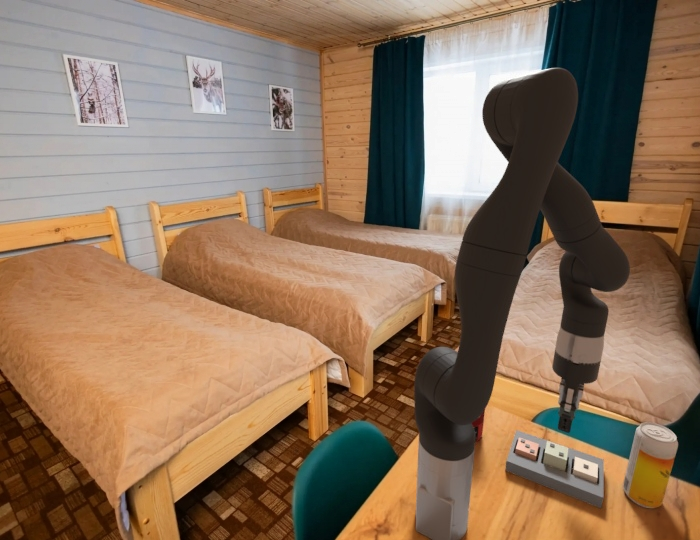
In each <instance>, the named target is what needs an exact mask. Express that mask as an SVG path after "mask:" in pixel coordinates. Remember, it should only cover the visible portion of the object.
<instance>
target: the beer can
mask: <svg viewBox="0 0 700 540" xmlns="http://www.w3.org/2000/svg"><path fill="white" fill-rule="evenodd" d="M677 438H678V437H677V435H676V434H675V433H674V432H673V431H672V429H669V427H667V426H664V425H662V424H658V423H656V422H651V421H645V422H644V421H643V422H641V423H640V424H639V426H638V427H636V429H635V433H634V437H633V440H632V441H633V442H632V446H631V450H630V453H629V458H628V462H627V467H626V472H625V476H624V479H623V484H622V488H623V491H624V492H625V494H626V496H627V498H629V499H630V500H631V501H632V502H633V503H635V504H636V505H638V506H640V507H642V508H645V509H655V508H659V507H661V506H662V504H663V502H664V500H665V499H664V498H665V495H666V491H667V488H668V483H669V480H670V476H671V474H672V473H671V472H672V469H673V466H674V462H675V458H676V454H677V452H678V448H679V442H678V439H677Z"/></svg>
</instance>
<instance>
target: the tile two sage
mask: <svg viewBox="0 0 700 540" xmlns="http://www.w3.org/2000/svg"><path fill="white" fill-rule="evenodd" d="M549 441H550V440H548V441H547V444H546V449H545V454H544V458H543V459H542V464H545V465H548V466H550V467H553V468H556V469H559V470H561V471H564V472H566V469H567V467H566V463H567V456H568V448H569V447H568V446H565V445H562V444H559V443H556V442H553V441H551V442H549ZM552 442H553V443H552ZM555 443H556V444H555ZM558 444H559V445H558ZM561 445H562V446H561ZM564 446H565V447H564ZM567 447H568V448H567Z"/></svg>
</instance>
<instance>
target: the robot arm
mask: <svg viewBox="0 0 700 540" xmlns="http://www.w3.org/2000/svg"><path fill="white" fill-rule="evenodd" d="M578 103H579V91H578V84H577V81H576V79H575V77H574V75H573V74H572V73H571V71H569V70H567V69H565V68H562V67H551V68H546V69H542V70H538V71H533V72H529V73H525V74H522V75H519V76H515V77H511V78H508V79H506V80H504V81H501V82H498V83H497V84H495V85H494V86H493V87H492V88H491V89H490V90H489V92H488V93H487V95H486V96H485V99H484V102H483V104H482V105H483V106H482V113H481V114H482V116H481V117H482V123H483V126H484V129H485V131H486V133H487V135H488V137H489V138H490V140H491V141H492V142H493V144H494V145H495V147H496V148H497V149H498V151H499V152H500V154H501V155H502V156H503V157H504V159H505V160H506V161H507V162H508V163H507V166H506V168H505V170H504V172H503V175H502V177H501V179H500V180H499V182H498V183H497V185H496V187H495V188H494V189H493V190H492V192H491V193H490V194H489V196H488V197H487V198H486V200H485V201H484V202H483V203H482V204H481V205H480V207H479V208H478V209H477V211H476V212H475V213H474V215H473V216H472V218H471V219H470V221H469V222H468V224H467V226H466V227H465V231H464V234H463V236H462V239H461V240H462V241H461V243H460V245H459V246H460V247H459V250H458V255H457V259H456V263H455V268H454V286H455V293H456V300H457V305H458V310H459V311H458V312H459V317H460V338H459V339H460V340H459V344H458V345H459V346H458V350H454V349H453V348H451V347H447V346H438V347H434V348H432V349H430V350H428V351H427V352H426V353H425V354H424V355H423V356H422V358H420V359H421V360H420V361H419V363H418V365H417V367H416V371H415V376H414V384H413V385H414V393H413V394H414V420H415V425H416V428H417V429H418V447H417V448H418V449H417V473H416V474H417V475H416V492H415V493H416V496H415V497H416V499H415V531H416V532H417V533H419V534H421V535H423V536H425V537H426V538H429V539H431V540H461V539H462V538H464V536H465V535H466V533H467V530H468V524H469V523H468V522H469V521H468V520H469V514H470V513H469V511H470V501H471V492H472V491H471V490H472V482H473V480H472V478H473V471H474V470H473V469H474V460H475V450H476V449H475V448H476V442H475V438H476V436H475V430H474V427H473V425H472V422H474V421H475V420H476V419H478V418H479V417H480V415H481V414H482V413H483V412H484V410H485V411H486V409H487V406H488V405H489V402H490V400H491V397H492V394H493V390H494V386H495V380H496V375H497V369H498V365H499V364H498V363H499V358H500V354H501V350H502V349H501V348H502V345H503V343H502V342H503V339H504V338H503V337H504V333H505V329H506V326H507V322H508V317H509V313H510V310H511V307H512V303H513V301H514V296H515V293H516V290H517V287H518V284H519V281H520V278H521V275H522V273H523V269H524V266H525V262H526V260H527V259H526V258H527V255H528V252H529V248H530V243H531V241H532V240H531V239H532V236H533V233H534V230H535V226H536V223H537V219H538V216H539V213H540V211H541V213H542V215H543V217H544V219H545V221H546V224H547V226H548V228H549V229H550V232H551V234H552V237H553V238H554V240H555V243H556V244H557V246H559V248H561V249H562V251H565V252H564V253H563V255H562V256H561V259H560V260H559V261H560V262H559V265H558V276H559V284H560V289H561V290H560V291H561V298H562V303H563V309H562V313H561V320H560V326H559V330H558V333H557V336H556V341H555V348H554V355H553V360H552V367H551V368H552V370H553V372H554V373H555V374H556V375H557V376H559V377H560V378H561V379H560V383H559V388H558V392H559V395H558V396H559V397H558V405H559V409H558V424H557V429H558V430H559V431H561V432H564V433H568V434H569V433H571V429H572V425H573V421H574V419H575V418H576V416H575V415H576V414H575V413H576V411H578V410H579V406H580V403H581V399H582V398H583V395H584V389H585V388H584V387H585V384H587V385H588V384H592V383H594V382H596V381H597V379H598V377H599V372H600V366H601V362H602V357H603V352H604V347H605V332H606V328H607V322H608V318H609V311H610V310H609V307H608V305H607V304H606V303H605V302H604V301H603V300H601V299H599V297H597V296H596V295H595V294H594V293H593V291H592V289H593V290H596V291H598V292H604V293H605V292H606V293H612V292H615V291H618V290H620V289H621V288H623V287H624V286H625V284H626V283H627V282H628V280H629V278H630V274H631V273H630V272H631V266H630V261H629V258H628V256H627V254H626V253H625V251H624V249H622V247H621V246H620V245H619V244H618V242H617V241H616V240H615V239H614V238H613V236H612V235H611V234H610V232H608V231H607V229H605V228H604V226H603V224H602V222H601V219H600V216H599V214H598V212H597V209H596V206H595V204H594V202H593V200H592V198H591V196H590V195H589V193H588V191H587V190H586V188H585V187H584V186H583V185H582V184H581V183H580V182H579V181H578V180H577V179H576V178H575V177H574V176H572V174H570V172H568V171H567V170H566V168H564V167H563V166H562V165H561V163H559V159H560V157H561V155H562V152H563V150H564V147H565V145H566V143H567V140H568V137H569V135H570V132H571V130H572V126H573V124H574V121H575V118H576V114H577V108H578V105H579V104H578Z"/></svg>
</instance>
